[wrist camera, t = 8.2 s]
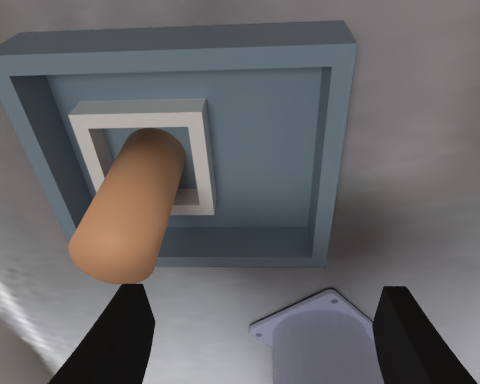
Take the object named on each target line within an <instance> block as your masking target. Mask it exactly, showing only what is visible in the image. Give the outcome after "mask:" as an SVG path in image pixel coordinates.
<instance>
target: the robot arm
mask: <svg viewBox="0 0 480 384" xmlns="http://www.w3.org/2000/svg"><path fill="white" fill-rule="evenodd" d="M154 328H155V319H154V316H153V313H152V310H151V307H150V304H149V301H148V298H147V295H146V292H145V289H144V286H143V284H122V285H121V286H120V288H119V289H118V291H117V292H116V294H115V295H114V297H113V298H112V300H111V301H110V303H109V304H108V305H107V307H106V308H105V310H104V311H103V313H102V314H101V315H100V317H99V318H98V320H97V321H96V322H95V324H94V325H93V327H92V328H91V329H90V331H89V332H88V333H87V335H86V336H85V337H84V339H83V340H82V341H81V343H80V344H79V345H78V347H77V348H76V349H75V351H74V352H73V353H72V354H71V356H70V357H69V358H68V359H67V361H66V362H65V363H64V364H63V366H62V367H61V368H60V369H59V370H58V372H57V373H56V374H55V375H54V377H53V378H52V379H51V380H50V382H49V383H48V384H142V382H143V378H144V375H145V371H146V368H147V364H148V360H149V357H150V352H151V346H152V340H153V334H154ZM249 333H250V334H251V335H253V336H254V337H256V338H257V339H259V340H260V341H262V342H263V343H265V344H266V345H268V346H270V347H271V348H272V353H273V384H477V382H476V381H475V380H474V379H473V377H472V376H471V375H470V374H469V373H468V371H467V370H466V369H465V368H464V366H463V365H462V364H461V362H460V361H459V360H458V358H457V357H456V356H455V355H454V353H453V352H452V351H451V349H450V348H449V347H448V345H447V344H446V343H445V341H444V340H443V339H442V337H441V336H440V335H439V333H438V332H437V330H436V329H435V328H434V326H433V325H432V323H431V322H430V321H429V319H428V318H427V316H426V315H425V313H424V312H423V311H422V309H421V308H420V306H419V305H418V303H417V302H416V300H415V299H414V297H413V296H412V294H411V293H410V291H409V290H408V289H407V288H406V287H405V286H384V287H383V291H382V294H381V297H380V301H379V304H378V307H377V311H376V314H375V317H374V321H373V322H371V321H370V320H369V319H368V318H367V317H366V316H364V315H363V314H362V313H361V312H360V311H358V310H357V309H356V308H355V307H354V306H353V305H351V304H350V303H349V302H348V301H347V300H345V299H344V298H343V297H342V296H341V295H340V294H338V293H337V292H336V291H334V290H331V289H330V290H326V291H323V292H321V293H319V294H317V295H315V296H313V297H311V298H308V299H306V300H304V301H302V302H300V303H298V304H296V305H293V306H291V307H289V308H287V309H285V310H283V311H281V312H278V313H276V314H274V315H272V316H270V317H268V318H266V319H263V320H261V321H259V322H257V323H255V324H253V325H251V326H249Z"/></svg>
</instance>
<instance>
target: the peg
mask: <svg viewBox="0 0 480 384" xmlns="http://www.w3.org/2000/svg"><path fill="white" fill-rule="evenodd" d="M185 161H186V155H185V151H184V148H183V146H182V145H181V143H180V142H179V141H178V140H177V139H176V138H175V137H174V136H173V135H171V134H170V133H168V132H166V131H164V130H161V129H157V128H142V129H139V130H136V131H134V132H133V133H131V134H130V135H129V136H128V138H127V139H126V141H125V143H124V145H123V147H122V148H121V150H120V152H119V154H118V156H117V157H116V159H115V161H114V163H113V165H112V166H111V168H110V170H109V172H108V174H107V175H106V177H105V179H104V181H103V183H102V184H101V186H100V188H99V190H98V192H97V193H96V195H95V197H94V199H93V201H92V202H91V204H90V206H89V208H88V210H87V211H86V213H85V215H84V217H83V219H82V220H81V222H80V224H79V226H78V228H77V229H76V231H75V233H74V235H73V237H72V238H71V240H70V243H69V253H70V256H71V258H72V260H73V261H74V263H75V264H76V265H77V266H78V267H79V268H80V269H81V270H82V271H84V272H85V273H86V274H88V275H90V276H92V277H94V278H96V279H98V280H101V281H104V282H108V283H112V284H134V283H138V282H141V281H143V280H145V279H146V278H148V277H149V276H150V275H151V274H152V272H153V271H154V268H155V264H156V261H157V258H158V254H159V251H160V247H161V244H162V241H163V237H164V234H165V230H166V227H167V223H168V220H169V217H170V213H171V210H172V206H173V203H174V199H175V196H176V193H177V189H178V186H179V182H180V179H181V175H182V172H183V169H184V165H185Z"/></svg>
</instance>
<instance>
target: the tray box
mask: <svg viewBox="0 0 480 384" xmlns="http://www.w3.org/2000/svg"><path fill="white" fill-rule="evenodd" d="M356 50H357V42H356V40H355V39H354V37H353V35H352V34H351V32H350V30H349V29H348V27H347V26H346V24H345V22H344V21H319V22H293V23H266V24H240V25H213V26H187V27H160V28H134V29H107V30H81V31H54V32H28V33H19V34H17V35H15V36H13V37H12V38H10V39H8V40H7V41H5V42H3V43H1V44H0V100H1V102H2V104H3V106H4V108H5V110H6V113H7V115H8V117H9V119H10V121H11V123H12V125H13V127H14V129H15V132H16V134H17V136H18V138H19V140H20V142H21V144H22V146H23V148H24V151H25V153H26V155H27V157H28V159H29V161H30V163H31V165H32V167H33V170H34V172H35V174H36V176H37V178H38V180H39V182H40V184H41V186H42V189H43V191H44V193H45V195H46V197H47V199H48V201H49V203H50V205H51V207H52V210H53V212H54V214H55V216H56V218H57V220H58V222H59V224H60V226H61V229H62V231H63V233H64V235H65V237H66V239H67V241H68V243H70V240H71V238H72V237H73V235H74V233H75V231H76V229H77V228H78V226H79V224H80V222H81V220H82V219H83V217H84V215H85V213H86V211H87V210H88V208H89V206H90V204H91V202H92V201H93V199H94V197H95V195H96V193H97V192H98V190H99V188H100V186H101V184H102V183H103V181H104V179H105V177H106V175H107V174H108V172H109V170H110V168H111V166H112V165H113V163H114V161H115V159H116V157H117V156H118V154H119V152H120V150H121V148H122V147H123V145H124V143H125V141H126V139H127V138H128V136H129V135H130V134H131V133H133V132H134V131H136V130H139V129H142V128H157V129H161V130H164V131H166V132H168V133H170V134H171V135H173V136H174V137H175V138H176V139H177V140H178V141H179V142H180V143H181V145H182V146H183V148H184V151H185V155H186V161H185V165H184V169H183V172H182V175H181V179H180V182H179V186H178V189H177V193H176V196H175V199H174V203H173V206H172V210H171V213H170V217H169V220H168V223H167V227H166V230H165V234H164V237H163V241H162V244H161V247H160V251H159V254H158V258H157V261H156V264H155V266H161V267H308V268H326V263H327V256H328V249H329V241H330V234H331V227H332V220H333V213H334V206H335V199H336V192H337V185H338V178H339V171H340V163H341V156H342V149H343V142H344V135H345V128H346V121H347V114H348V107H349V100H350V93H351V85H352V78H353V71H354V64H355V57H356Z"/></svg>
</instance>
